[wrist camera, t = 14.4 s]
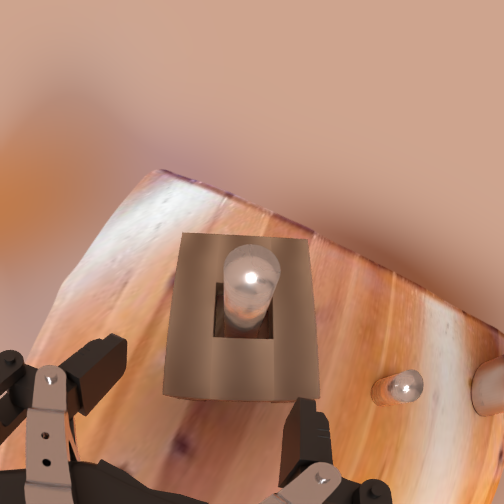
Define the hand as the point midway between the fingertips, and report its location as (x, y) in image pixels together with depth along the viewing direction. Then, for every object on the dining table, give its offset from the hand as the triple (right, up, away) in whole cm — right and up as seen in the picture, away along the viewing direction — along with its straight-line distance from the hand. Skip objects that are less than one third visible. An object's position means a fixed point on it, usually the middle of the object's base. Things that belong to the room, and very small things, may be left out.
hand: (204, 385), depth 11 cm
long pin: (+1, -4, +20) cm, 21 cm away
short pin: (+18, -11, +17) cm, 27 cm away
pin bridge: (+1, -4, +20) cm, 21 cm away
